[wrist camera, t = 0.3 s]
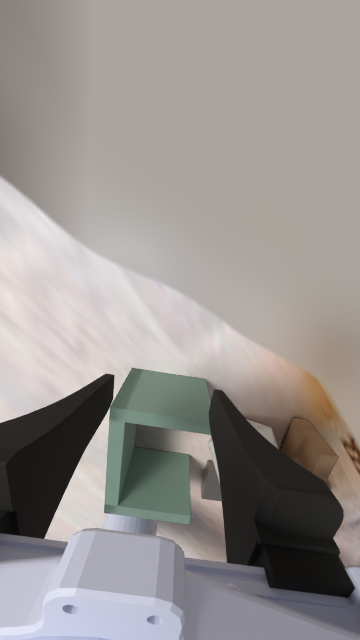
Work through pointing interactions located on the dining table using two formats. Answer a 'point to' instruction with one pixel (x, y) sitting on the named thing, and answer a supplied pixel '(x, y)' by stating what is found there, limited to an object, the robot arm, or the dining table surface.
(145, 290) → the dining table surface
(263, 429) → the die
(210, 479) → the rail
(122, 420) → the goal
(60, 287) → the dining table surface
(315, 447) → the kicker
